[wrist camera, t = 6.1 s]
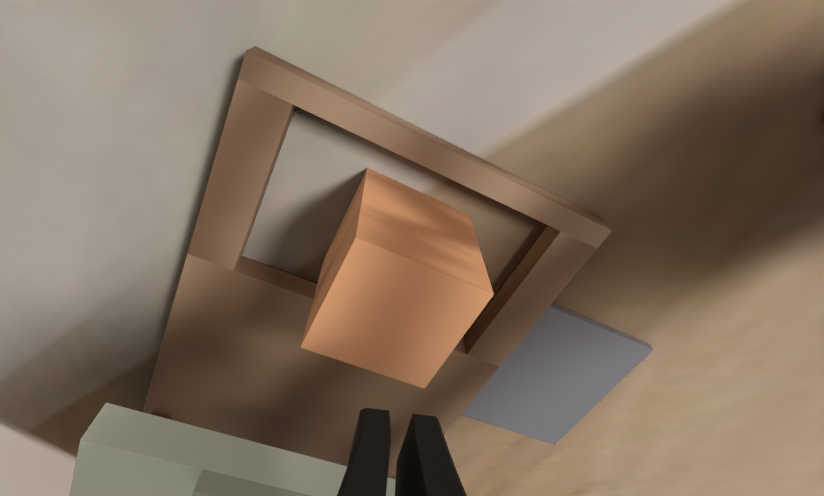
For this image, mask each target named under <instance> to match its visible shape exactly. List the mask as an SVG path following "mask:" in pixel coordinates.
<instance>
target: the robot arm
mask: <svg viewBox="0 0 824 496" xmlns="http://www.w3.org/2000/svg"><path fill="white" fill-rule="evenodd" d="M390 445H391V430H390V414H389V411H388V410H380V409H372V408H364V409H362V410H360V413H359V418H358V422H357V426H356V430H355V434H354V438H353V442H352V446H351V451H350V455H349V462H348V466H347V469H346V472H345V475H344V477H343V480H342V483H341V486H340V489H339V491H338V494H337V496H386V490H387V479H388V468H389V456H390ZM395 496H467V495H466V493H465V491H464V488H463V486H462V483H461V481H460V478H459V476H458V473H457V471H456V468H455V466H454V463H453V460H452V458H451V455H450V452H449V449H448V447H447V444H446V441H445V438H444V435H443V432H442V429H441V425H440V422H439V419H438V418H437V417H436V416H428V415H420V414H412V417H411V420H410V423H409V426H408V429H407V432H406V435H405V438H404V441H403V444H402V447H401V450H400V453H399V456H398V459H397V463H396V481H395Z"/></svg>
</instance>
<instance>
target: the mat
mask: <svg viewBox="0 0 824 496" xmlns="http://www.w3.org/2000/svg"><path fill="white" fill-rule="evenodd" d="M652 350H653V348H652V347H651V345H650V344H648V343H645V342H643V341H640V340H638V339H636V338H633V337H631V336H629V335H626V334H624V333H621V332H619V331H617V330H614V329H612V328H609V327H607V326H605V325H602V324H600V323H598V322H595V321H593V320H590V319H588V318H586V317H583V316H581V315H578V314H576V313H574V312H571V311H569V310H567V309H564V308H562V307H559V306H557V305H555V304H551V305H550V307H549V308H548V309H547V310H546V311H545V313H544V314H543V315H542V316H541V317H540V319H539V320H538V321H537V322H536V323H535V325H534V326H533V327H532V328H531V329H530V331H529V332H528V333H527V334H526V336H525V337H524V338H523V339H522V340H521V342H520V343H519V344H518V345H517V346H516V348H515V349H514V350H513V351H512V352H511V354H510V355H509V356H508V357H507V359H506V360H505V361H504V362H503V363H502V365H501V366H500V367H499V368H498V369H497V371H496V372H495V373H494V374H493V375H492V377H491V378H490V379H489V380H488V381H487V383H486V384H485V385H484V386H483V388H482V389H481V390H480V391H479V392H478V394H477V395H476V396H475V397H474V398H473V400H472V401H471V402H470V403H469V404H468V406H467V407H466V408H465V409H464V410H463V412H462V413H461V414H460V415H463V416H466V417H469V418H473V419H476V420H479V421H482V422H485V423H488V424H491V425H494V426H498V427H501V428H504V429H507V430H510V431H513V432H516V433H519V434H523V435H526V436H529V437H532V438H535V439H538V440H541V441H544V442H548V443H551V444H554V445H555V444H556V443H557V442H558V441H559V440H560V439H561V438H562V437H563V436H564V435H565V434H566V433H567V432H568V431H569V430H570V429H571V428H572V427H573V426H575V425H576V424H577V423H578V422H579V421H580V420H581V419H582V418H583V417H584V416H585V415H586V414H587V413H588V412H589V411H590V410H591V409H592V408H593V407H594V406H595V405H596V404H597V403H598V402H599V401H601V400H602V399H603V398H604V397H605V396H606V395H607V394H608V393H609V392H610V391H611V390H612V389H613V388H614V387H615V386H616V385H617V384H618V383H619V382H620V381H621V380H622V379H623V378H624V377H625V376H626V375H628V374H629V373H630V372H631V371H632V370H633V369H634V368H635V367H636V366H637V365H638V364H639V363H640V362H641V361H642V360H643V359H644V358H645V357H646V356H647V355H648V354H649V353H650V352H651V351H652Z"/></svg>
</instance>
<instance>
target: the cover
mask: <svg viewBox="0 0 824 496" xmlns="http://www.w3.org/2000/svg"><path fill="white" fill-rule="evenodd" d="M346 469H347V466H343V465H340V464H336V463H332V462H328V461H325V460H321V459H317V458H313V457H310V456H306V455H302V454H298V453H294V452H291V451H287V450H283V449H279V448H276V447H272V446H268V445H264V444H261V443H257V442H253V441H249V440H246V439H242V438H238V437H234V436H230V435H227V434H223V433H219V432H215V431H212V430H208V429H204V428H200V427H197V426H193V425H189V424H185V423H181V422H178V421H174V420H170V419H166V418H163V417H159V416H155V415H151V414H148V413H144V412H140V411H136V410H133V409H129V408H125V407H121V406H117V405H114V404H110V403H105V405H104V406H103V408H102V409H101V410H100V412H99V413H98V415H97V416H96V418H95V419H94V421H93V422H92V423H91V425H90V426H89V428H88V429H87V431H86V432H85V433H84V435H83V436H82V438H81V439H80V444H79V449H78V454H77V459H76V465H75V470H74V475H73V480H72V485H71V490H70V496H337V494H338V491H339V489H340V486H341V483H342V480H343V477H344V475H345V472H346ZM395 481H396V479H392V478H389V477H388V479H387V490H386V496H395Z"/></svg>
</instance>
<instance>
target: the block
mask: <svg viewBox="0 0 824 496" xmlns="http://www.w3.org/2000/svg"><path fill="white" fill-rule="evenodd" d="M493 295H494V293H493V290H492V286H491V283H490V280H489V277H488V274H487V270H486V267H485V264H484V261H483V257H482V254H481V251H480V248H479V245H478V241H477V238H476V235H475V232H474V229H473V225H472V222H471V219H470V216H469V214H467V213H464V212H462V211H460V210H458V209H456V208H454V207H451V206H449V205H447V204H445V203H443V202H440V201H438V200H436V199H434V198H432V197H430V196H427V195H425V194H423V193H421V192H419V191H416V190H414V189H412V188H410V187H408V186H405V185H403V184H401V183H399V182H397V181H395V180H392V179H390V178H388V177H386V176H384V175H381V174H379V173H377V172H375V171H373V170H371V169H368V168H367V170H366V172H365V174H364V176H363V178H362V180H361V182H360V184H359V186H358V188H357V191H356V193H355V195H354V197H353V199H352V201H351V203H350V205H349V207H348V209H347V212H346V214H345V216H344V218H343V220H342V222H341V224H340V226H339V228H338V230H337V233H336V235H335V237H334V239H333V241H332V243H331V245H330V247H329V249H328V251H327V254H326V256H325V258H324V261H323V265H322V269H321V272H320V276H319V280H318V283H317V287H316V291H315V295H314V298H313V302H312V306H311V310H310V313H309V317H308V321H307V324H306V328H305V332H304V336H303V339H302V343H301V347H300V348H303V349H306V350H309V351H312V352H315V353H318V354H321V355H324V356H328V357H331V358H334V359H337V360H340V361H343V362H346V363H349V364H352V365H355V366H358V367H361V368H364V369H367V370H370V371H373V372H376V373H379V374H382V375H385V376H388V377H391V378H394V379H397V380H400V381H403V382H406V383H409V384H412V385H415V386H418V387H421V388H424V389H425V387H426V386H427V385H428V383H429V382H430V381H431V379H432V378H433V377H434V375H435V374H436V373H437V371H438V370H439V368H440V367H441V366H442V364H443V363H444V362H445V360H446V359H447V358H448V356H449V355H450V354H451V352H452V351H453V349H454V348H455V347H456V345H457V344H458V343H459V341H460V340H461V339H462V337H463V336H464V335H465V333H466V332H467V330H468V329H469V328H470V326H471V325H472V324H473V322H474V321H475V320H476V318H477V317H478V316H479V314H480V313H481V312H482V310H483V309H484V307H485V306H486V305H487V303H488V302H489V301H490V299H491V298H492V297H493Z"/></svg>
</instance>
